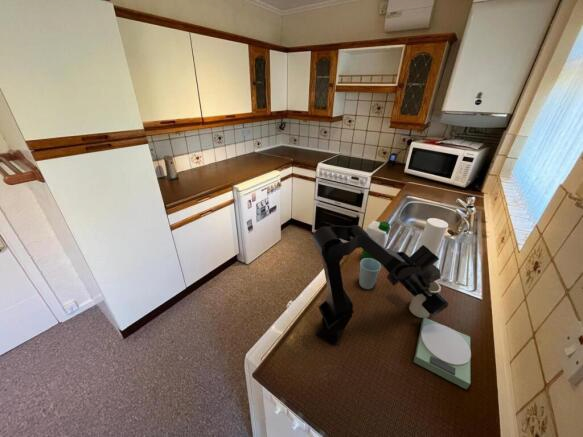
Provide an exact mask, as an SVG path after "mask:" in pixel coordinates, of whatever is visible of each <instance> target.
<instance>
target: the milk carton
mask: <svg viewBox="0 0 583 437" xmlns="http://www.w3.org/2000/svg"><path fill="white" fill-rule="evenodd" d="M391 228H392V226H391V224H390V223H389V222H387V221H376V220H373V221H372V222H370V223H369V224H368V225H367V226H366V230H365V231H366V232H367V233H368V234H369V235H370V236H371V237H372V238H373V239H375V240H376V241H377V242H378V243H379V244H381V245H382V246H383V247H384V248H386V249H387V243H388V240H389V236H390V233H391ZM365 258H371V259H374V260H376V261H378V260H377V259H375V258H374V257H373V256H371V255H370V254H369V253H368V252H366V251H365V250H364V249H362V251H361V260H362V259H365ZM361 260H360V261H361ZM378 262H379V261H378ZM379 263H380V262H379Z"/></svg>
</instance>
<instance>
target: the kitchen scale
mask: <svg viewBox="0 0 583 437" xmlns="http://www.w3.org/2000/svg"><path fill="white" fill-rule="evenodd" d="M471 358H472V351H471V336H469V335H467V334H465V333H463V332H459V331H457V330H456V329H453V328H451V327H449V326H446V325H444V324H442V323H439V322H436V321H434V320H432V319H429V318H428V317H427V318H425V317H424V318H422V320H421V324H420V328H419V334H418V338H417V343H416V348H415V352H414V358H413V363H415V364H416V365H418V366H420V367H422V368H424V369H426V370H428V371H429V372H431V373H434V374H436V375H438V376H440V377H441V378H443V379H444V380H447V381H448V382H450V383H453V384H454V385H457V386H458V387H460V388H462V389H464V390H468V388H469V387H470V385H471Z"/></svg>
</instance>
